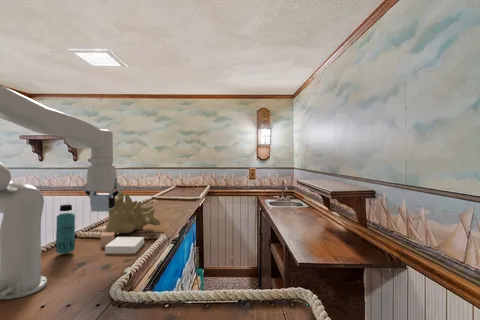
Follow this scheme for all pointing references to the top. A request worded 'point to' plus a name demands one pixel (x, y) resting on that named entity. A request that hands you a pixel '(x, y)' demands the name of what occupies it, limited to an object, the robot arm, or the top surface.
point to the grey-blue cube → (100, 202)
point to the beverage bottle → (65, 230)
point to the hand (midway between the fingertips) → (103, 207)
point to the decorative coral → (129, 215)
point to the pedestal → (124, 245)
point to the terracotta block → (106, 238)
